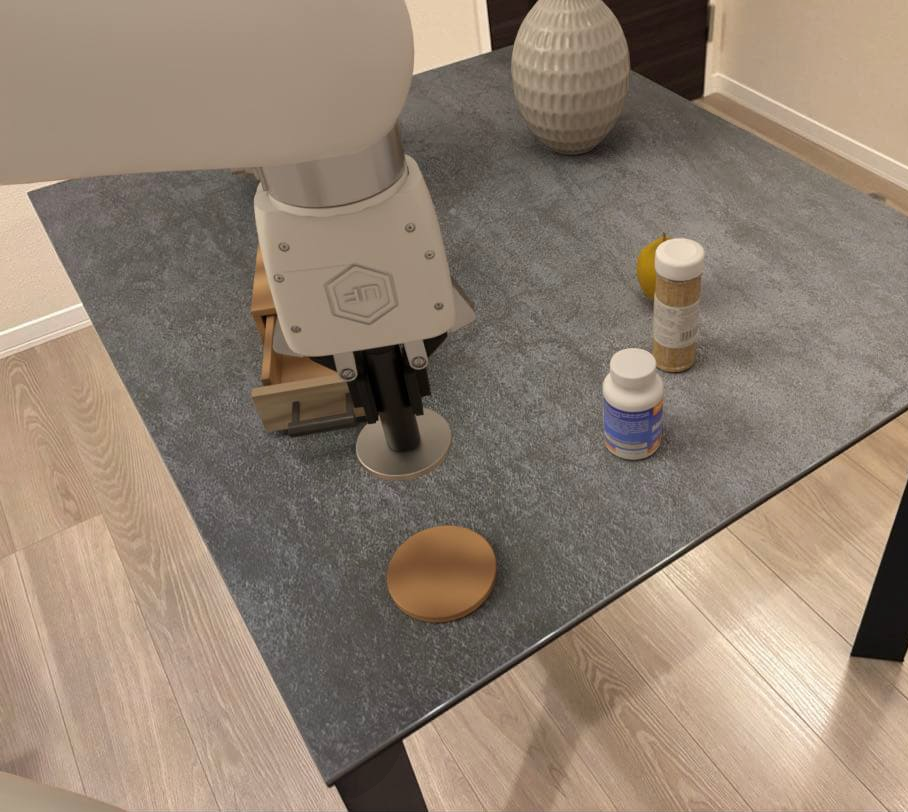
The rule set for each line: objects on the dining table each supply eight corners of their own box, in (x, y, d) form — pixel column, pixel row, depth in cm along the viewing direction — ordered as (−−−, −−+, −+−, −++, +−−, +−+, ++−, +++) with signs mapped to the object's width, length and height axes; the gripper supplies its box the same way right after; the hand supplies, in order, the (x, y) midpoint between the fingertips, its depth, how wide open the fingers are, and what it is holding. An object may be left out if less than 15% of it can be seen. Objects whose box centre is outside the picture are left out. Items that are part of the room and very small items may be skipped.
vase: (502, 165, 117) (486, -1, 101) (536, 114, 128) (526, -43, 112) (614, 176, 113) (615, 5, 97) (639, 122, 124) (643, -40, 108)
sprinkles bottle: (681, 340, 87) (690, 231, 78) (703, 367, 84) (715, 256, 75) (642, 352, 86) (647, 243, 77) (662, 379, 83) (669, 269, 74)
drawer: (396, 441, 78) (386, 405, 75) (263, 464, 77) (247, 428, 74) (386, 326, 91) (378, 291, 87) (272, 344, 90) (259, 309, 86)
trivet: (504, 610, 65) (504, 605, 65) (391, 633, 65) (389, 627, 64) (489, 522, 72) (488, 516, 71) (385, 541, 71) (384, 535, 70)
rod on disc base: (457, 471, 57) (437, 367, 50) (358, 489, 56) (325, 386, 50) (447, 405, 62) (427, 302, 55) (356, 420, 61) (325, 318, 55)
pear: (659, 276, 96) (662, 215, 90) (704, 298, 92) (710, 236, 87) (622, 301, 93) (623, 240, 87) (667, 325, 89) (671, 263, 84)
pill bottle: (663, 461, 76) (668, 383, 69) (604, 462, 76) (603, 385, 69) (658, 418, 79) (662, 341, 73) (601, 420, 80) (601, 343, 73)
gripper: (166, 215, 40) (273, 467, 53) (493, 167, 42) (520, 423, 54) (184, 145, 45) (278, 389, 58) (473, 105, 47) (502, 351, 60)
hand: (394, 404), depth 56 cm, fingers closed on rod on disc base, 2 cm apart
